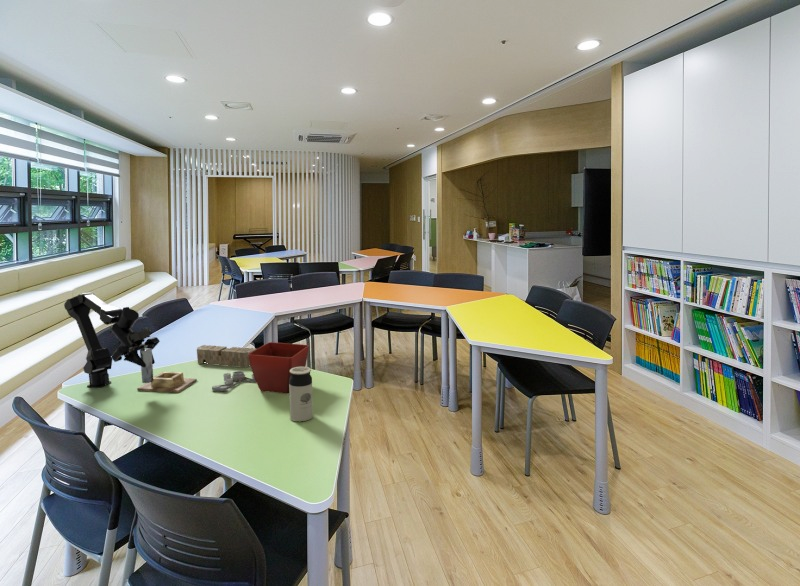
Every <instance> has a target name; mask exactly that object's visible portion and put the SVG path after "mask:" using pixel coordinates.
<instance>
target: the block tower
mask: <svg viewBox="0 0 800 586" xmlns="http://www.w3.org/2000/svg"><path fill="white" fill-rule="evenodd" d="M227 347H228V346H220V345H208V344H207V345H206V344H202V345H200V346H198V347H196V356H197V357H196V358H197V364H198V363H204V362H206V363H208V364H207V365H209V364H219V365H218V366H220V365H228V366H227V367H232V366H240V367H239V368H245V367H247V368H248V367H250V366H249V365H250V362H249V357H248V354H249V353H251V352H252V351H254V350H256V349H257V348H254V347H249V348H248V347H237V346H232V347H230V348H227ZM206 363H204V364H206Z"/></svg>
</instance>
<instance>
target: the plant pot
mask: <svg viewBox="0 0 800 586" xmlns="http://www.w3.org/2000/svg"><path fill="white" fill-rule="evenodd" d="M309 348H310V346H309V345H308V344H301V343H300V344H298V343H284V342H273V341H270V342H267V343H265V344H263V345H261V346H260V347H258V348H256V350H254V351H252V352H251V353H249V354H248V357H249V362H250V366H249V367H250V369H251V372H252V375H254V378H255V380H256V382H255V383H256V385H257V387H258V389H259V391H260V392H267V393H277V394H285V395H286V394H290V391H289V378H290V376H291V373H290V369H292V368H295V367H307V366H306V364H307V361H308V357H309V356H308V354H309V350H310V349H309Z"/></svg>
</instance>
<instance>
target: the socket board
mask: <svg viewBox="0 0 800 586" xmlns="http://www.w3.org/2000/svg"><path fill="white" fill-rule="evenodd" d="M153 380H154V381H153V382H151V383H143V385H141V386H139V387H137V388H136V390H142V391H141V392H156V391H157V393H158V392H159V393H160V392H161V393H181V392H183V391H184V390H185V389H186V388H189V387H190V386H191V385H193V384H194V383H196V382H197V381H198V379H197V378H192V377H191V378H187V377H186V378H185V377H184V372H180V371H179V372H178V371H162V372H161V373H160V372H159V373H158V374H157V375H153Z"/></svg>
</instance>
